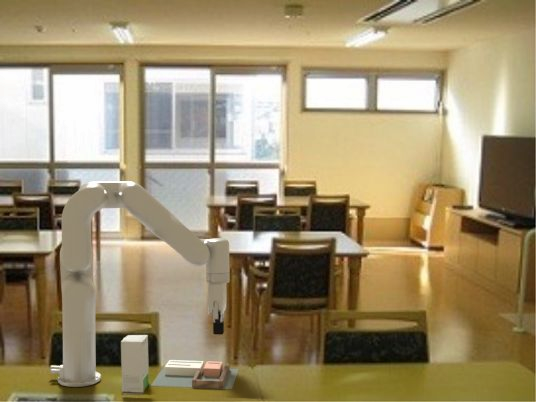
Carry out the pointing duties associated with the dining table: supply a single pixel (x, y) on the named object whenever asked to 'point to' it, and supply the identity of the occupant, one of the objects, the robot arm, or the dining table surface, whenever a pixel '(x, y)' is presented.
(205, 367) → the pink block
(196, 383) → the tray
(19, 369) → the dining table surface
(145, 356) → the skincare box
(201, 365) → the flat white box
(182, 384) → the mat
